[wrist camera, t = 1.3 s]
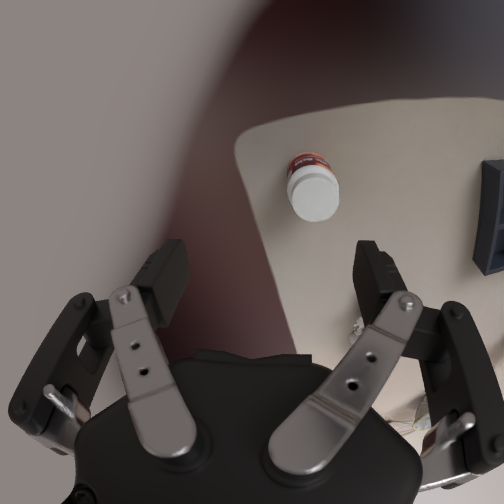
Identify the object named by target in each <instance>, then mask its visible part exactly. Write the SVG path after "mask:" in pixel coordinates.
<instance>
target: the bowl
mask: <svg viewBox="0 0 504 504" xmlns="http://www.w3.org/2000/svg"><path fill="white" fill-rule="evenodd" d="M430 428H431V422H430V415H429V409H428V403H427V398H426V396H425V397H424V400H423V402H422V403H421V404H420V405H419V407H418V409H417V411H416V415H415V421H414V424H413V429H415V430H426V429H430Z"/></svg>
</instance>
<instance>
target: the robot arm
mask: <svg viewBox="0 0 504 504" xmlns="http://www.w3.org/2000/svg"><path fill="white" fill-rule="evenodd" d="M189 278H190V264H189V260H188V256H187V251H186V247H185V243H184V241H183V240H182V239H179V240H177V239H176V240H167V241H166V242H165V243H164V245H163V246H162V248H161V249H160V250H157V251H155V252H154V253H153V254H151V255H150V256H149V258H148V259H147V260H146V262H145V264H144V265H143V266H142V267H141V269H140V270H139V272H138V273H137V275H136V276H135V278H134V279H133V281H132V282H131V283H130V285H128V286H123V287H120V288H118V289H116V290H115V291H114V292H113V293H112V294H111V295H110V297H109V299H107V300H101V301H95V300H94V298H93V296H92V294H90V293H87V292H85V293H80V294H78V295H76V296H74V297H73V298H72V299H71V300H70V301H69V302H68V303H67V305H66V306H65V308H64V309H63V311H62V312H61V314H60V315H59V317H58V318H57V320H56V321H55V323H54V324H53V326H52V328H51V329H50V331H49V332H48V334H47V335H46V337H45V339H44V340H43V342H42V343H41V345H40V347H39V348H38V350H37V352H36V354H35V355H34V357H33V359H32V360H31V362H30V364H29V366H28V368H27V370H26V371H25V373H24V375H23V377H22V379H21V381H20V383H19V385H18V387H17V388H16V390H15V392H14V395H13V397H12V399H11V401H10V403H9V408H8V413H9V417H10V419H11V421H13V422H14V423H15V424H16V425H17V426H19V427H20V428H21V429H23V430H24V431H25V432H26V433H27V434H28V435H29V436H31V437H32V438H33V439H35V440H36V441H38V442H39V443H41V444H42V445H44V446H45V447H48V448H50V449H51V450H53V451H54V452H56V453H58V454H60V455H68V454H69V455H72V456H74V457H75V467H76V476H75V485H74V488H73V490H72V492H71V494H70V495H69V496H68V497H67V498H66V500H65V501H64V502H62V503H61V504H413V502H414V499H415V497H416V495H417V493H418V492H422V491H426V490H430V489H434V488H437V487H441V488H443V489H452V488H455V487H457V486H460V485H462V484H464V483H466V482H469V481H471V480H473V479H475V478H477V477H479V476H481V475H483V474H485V473H487V472H489V471H491V470H493V469H494V468H496V467H498V466H500V465H501V464H503V463H504V400H503V397H502V394H501V390H500V387H499V384H498V381H497V378H496V375H495V372H494V369H493V366H492V363H491V361H490V358H489V355H488V353H487V350H486V348H485V345H484V343H483V341H482V338H481V336H480V334H479V331H478V329H477V327H476V325H475V322H474V320H473V318H472V316H471V314H470V312H469V310H468V309H467V308H466V307H465V306H464V305H463V304H461V303H459V302H456V301H448V302H445V303H444V304H443V306H442V308H441V310H438V309H433V308H428V307H425V306H423V303H422V301H421V299H420V298H419V297H418V296H417V295H415V294H413V293H411V292H408V290H407V288H406V286H405V283H404V281H403V279H402V277H401V275H400V273H399V271H398V269H397V267H396V265H395V263H394V261H393V259H392V257H390V256H389V255H388V254H387V253H386V252H385V251H379V249H378V247H377V245H376V243H375V241H369V240H359V241H358V242H357V246H356V253H355V259H354V265H353V283H354V287H355V291H356V295H357V299H358V303H359V307H360V311H361V315H362V319H363V323H364V328H365V329H364V330H363V332H362V333H361V335H360V336H359V337H358V339H357V340H356V341H355V343H354V344H353V345H352V347H351V348H350V349H349V351H348V352H347V353H346V355H345V356H344V357H343V359H342V360H341V361H340V362H339V364H338V365H337V366H336V367H335V369H334V370H333V371H332V370H331V369H329V368H326V367H324V366H322V365H319V364H315V363H312V354H295V355H294V354H281V355H275V356H270V357H264V358H257V359H248V358H245V357H241V356H238V355H234V354H231V353H228V352H224V351H215V350H203V349H196V351H195V354H194V357H190V358H185V359H182V360H178V361H176V362H174V363H172V364H169V361H168V359H167V357H166V354H165V352H164V350H163V348H162V345H161V343H160V340H159V338H158V336H157V333H156V330H157V328H158V327H163V328H167V327H168V325H169V323H170V321H171V318H172V316H173V314H174V311H175V309H176V307H177V305H178V303H179V300H180V298H181V296H182V294H183V292H184V289H185V287H186V285H187V283H188V281H189ZM82 336H84V338H85V339H86V343H85V345H84V347H83V349H82V350H81V353H80V355H79V356H78V355H77V345H78V343H79V342H80V340H81V338H82ZM114 349H115V353H116V357H117V361H118V365H119V369H120V373H121V377H122V380H123V384H124V387H125V390H126V395H125V396H123V397H122V398H120V399H119V400H118V401H116V402H115V403H113V404H112V405H110V406H109V407H107V408H106V409H104V410H103V411H101V412H100V413H98V414H96V415H95V416H93V417H92V418H91V412H90V409H89V407H90V405H91V402H92V400H93V397H94V395H95V392H96V390H97V388H98V385H99V383H100V380H101V378H102V376H103V373H104V371H105V369H106V366H107V364H108V362H109V359H110V357H111V355H112V353H113V351H114ZM400 356H403V357H408V358H413V359H418V360H419V364H420V368H421V373H422V377H423V382H424V387H425V392H426V398H427V403H428V409H429V415H430V422H431V429H430V430H429V431H428V432H427V433H426V435H425V436H424V439H423V445H422V452H421V454H420V456H419V454H418V453H417V451H416V450H415V449H414V448H413V447H412V446H411V445H410V444H409V443H408V442H407V441H406V440H405V439H404V438H403V437H402V436H401V435H400V434H399V433H398V432H397V431H396V430H395V429H394V428H393V427H392V426H390V425H389V424H388V423H387V422H386V421H385V420H384V419H383V418H382V417H381V416H380V415H379V414H378V413H377V412H376V411H375V410H374V409H373V408H372V407H371V406H372V404H373V403H374V401H375V399H376V398H377V396H378V395H379V393H380V391H381V390H382V388H383V386H384V385H385V383H386V381H387V380H388V378H389V376H390V375H391V373H392V371H393V369H394V367H395V366H396V364H397V362H398V360H399V358H400Z"/></svg>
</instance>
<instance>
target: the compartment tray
mask: <svg viewBox="0 0 504 504" xmlns="http://www.w3.org/2000/svg"><path fill="white" fill-rule="evenodd" d="M472 260H473V261H474V263H475V264H476V265H477V267H478V268H479V269H480V271H481V272H482V273H483V275H484V276H486V275H490V274H493V273H496V272H500V271H503V270H504V160H491V161H482V191H481V204H480V214H479V223H478V230H477V237H476V243H475V249H474V254H473V259H472Z"/></svg>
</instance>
